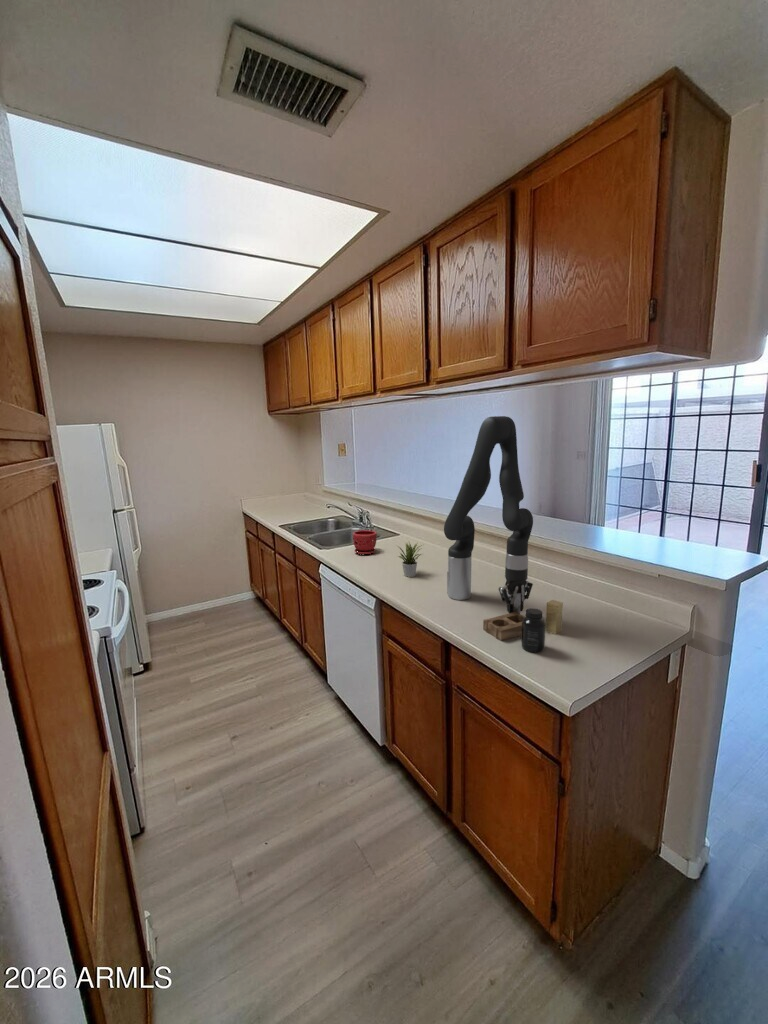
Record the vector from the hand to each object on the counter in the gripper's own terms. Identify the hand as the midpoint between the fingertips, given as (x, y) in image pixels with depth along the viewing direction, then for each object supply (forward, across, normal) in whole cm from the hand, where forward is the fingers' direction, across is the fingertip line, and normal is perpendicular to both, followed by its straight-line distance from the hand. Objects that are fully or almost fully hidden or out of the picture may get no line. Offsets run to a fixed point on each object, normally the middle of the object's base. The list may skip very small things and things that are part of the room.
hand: (514, 611), depth 152 cm
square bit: (+3, -5, +13) cm, 14 cm away
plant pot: (+3, +15, -104) cm, 105 cm away
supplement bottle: (+3, +9, +18) cm, 21 cm away
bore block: (+3, +8, +6) cm, 10 cm away
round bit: (+3, 0, 0) cm, 3 cm away
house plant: (+3, +10, -58) cm, 59 cm away
